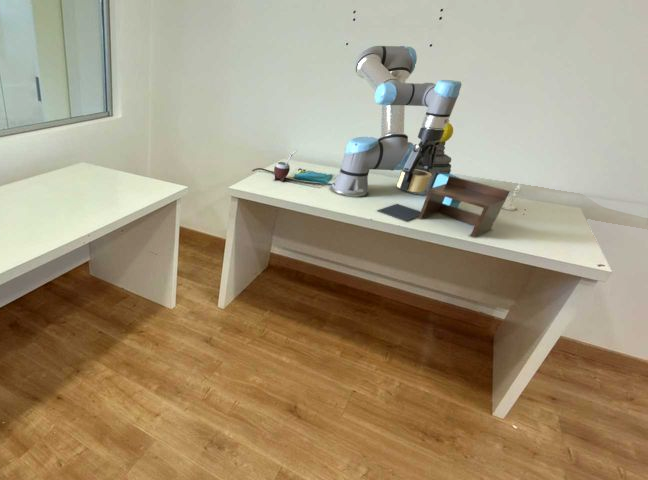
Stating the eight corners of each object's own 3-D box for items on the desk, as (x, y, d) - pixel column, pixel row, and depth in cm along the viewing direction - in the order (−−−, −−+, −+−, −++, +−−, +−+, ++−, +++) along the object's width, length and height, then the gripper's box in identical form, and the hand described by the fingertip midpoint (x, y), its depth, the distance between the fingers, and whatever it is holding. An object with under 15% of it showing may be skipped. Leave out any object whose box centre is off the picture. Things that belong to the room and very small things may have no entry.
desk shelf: (418, 217, 160) (432, 181, 152) (435, 211, 166) (450, 175, 158) (473, 237, 146) (493, 197, 138) (490, 229, 152) (510, 191, 144)
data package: (457, 210, 168) (469, 181, 161) (447, 210, 167) (459, 182, 161) (436, 199, 178) (448, 172, 171) (427, 199, 177) (438, 172, 171)
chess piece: (512, 206, 172) (524, 183, 166) (516, 210, 168) (529, 187, 162) (498, 204, 173) (510, 182, 168) (502, 209, 169) (514, 185, 164)
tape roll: (417, 193, 153) (423, 177, 150) (391, 186, 160) (396, 170, 157) (431, 189, 158) (437, 173, 154) (405, 182, 165) (411, 167, 161)
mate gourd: (269, 178, 200) (275, 147, 192) (283, 176, 202) (289, 146, 194) (278, 183, 194) (284, 151, 186) (292, 181, 196) (298, 150, 188)
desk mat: (377, 211, 166) (377, 210, 166) (397, 204, 172) (397, 203, 172) (406, 221, 157) (406, 220, 157) (425, 214, 164) (426, 213, 163)
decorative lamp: (386, 184, 194) (409, 118, 178) (418, 181, 199) (442, 116, 182) (418, 198, 179) (446, 127, 163) (452, 194, 183) (482, 125, 167)
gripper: (426, 133, 139) (404, 195, 151) (459, 126, 149) (436, 185, 161) (405, 129, 145) (385, 189, 156) (438, 123, 155) (417, 180, 167)
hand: (411, 187), depth 159 cm, fingers closed on tape roll, 10 cm apart
